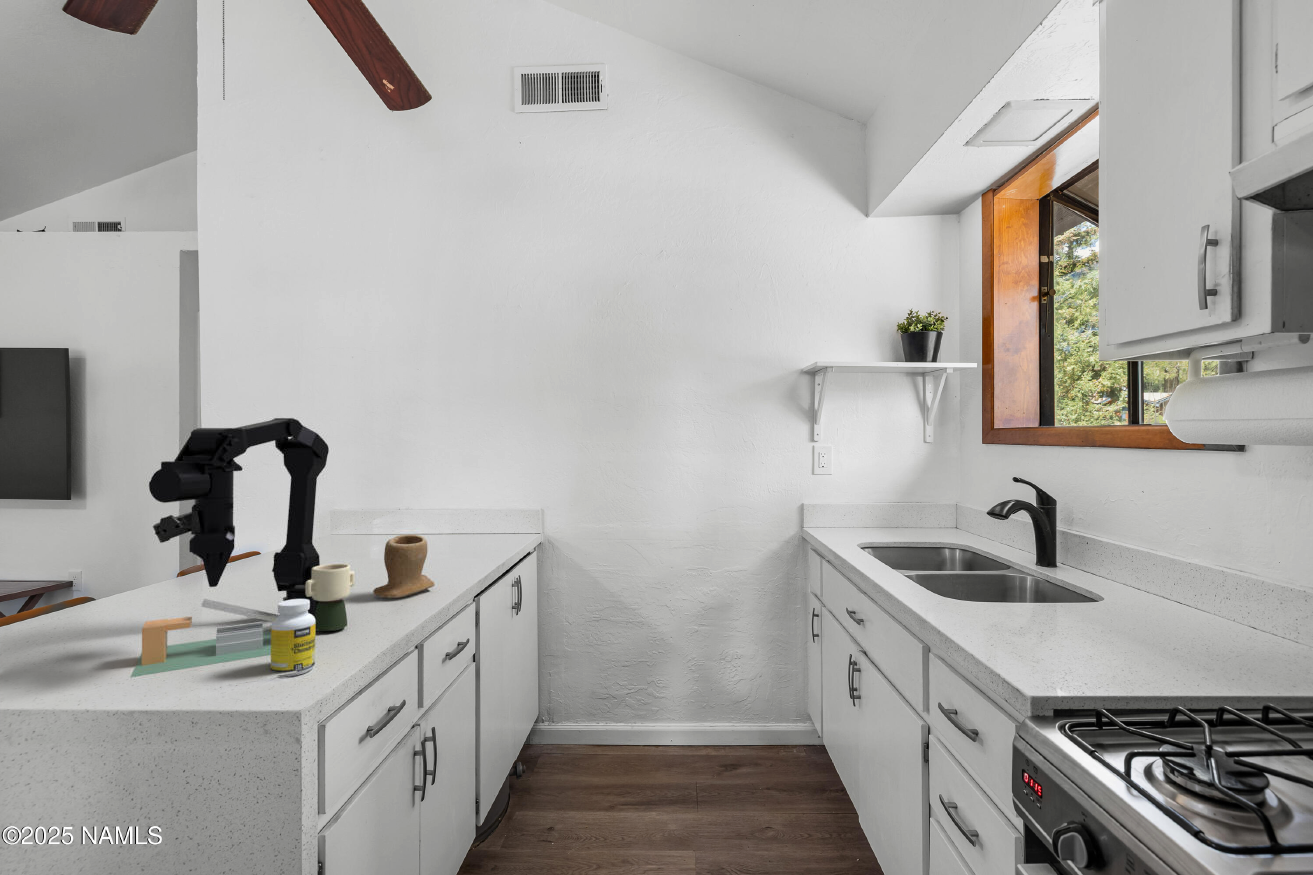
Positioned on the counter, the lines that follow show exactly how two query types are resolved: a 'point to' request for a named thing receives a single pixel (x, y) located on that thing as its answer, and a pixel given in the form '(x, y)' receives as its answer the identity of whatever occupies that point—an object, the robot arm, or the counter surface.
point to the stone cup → (404, 567)
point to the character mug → (330, 594)
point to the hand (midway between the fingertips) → (213, 584)
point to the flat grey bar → (239, 610)
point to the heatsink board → (213, 649)
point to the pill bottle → (293, 638)
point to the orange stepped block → (159, 638)
